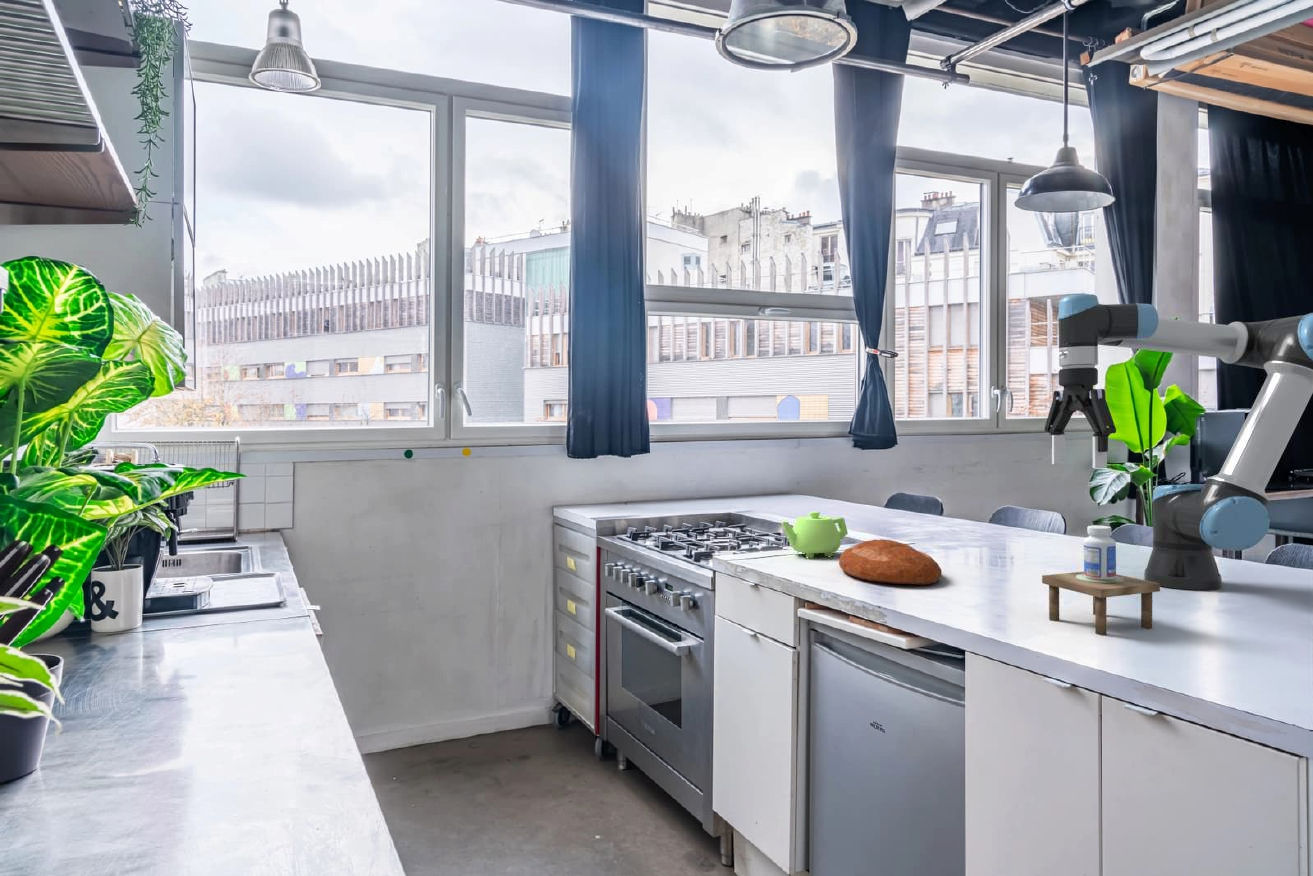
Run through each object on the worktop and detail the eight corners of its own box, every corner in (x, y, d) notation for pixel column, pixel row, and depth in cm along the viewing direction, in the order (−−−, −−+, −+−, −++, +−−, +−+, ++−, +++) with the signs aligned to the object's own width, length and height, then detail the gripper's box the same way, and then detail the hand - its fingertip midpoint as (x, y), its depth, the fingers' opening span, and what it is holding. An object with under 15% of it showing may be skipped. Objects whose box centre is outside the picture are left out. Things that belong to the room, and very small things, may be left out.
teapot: (790, 561, 228) (790, 516, 228) (773, 553, 241) (773, 510, 241) (857, 557, 232) (856, 513, 232) (836, 549, 245) (836, 508, 245)
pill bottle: (1110, 575, 158) (1110, 525, 158) (1120, 581, 153) (1120, 529, 153) (1079, 574, 159) (1080, 524, 159) (1088, 580, 154) (1089, 528, 154)
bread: (892, 562, 224) (891, 530, 224) (968, 585, 194) (967, 547, 194) (818, 568, 218) (817, 535, 218) (884, 592, 187) (884, 554, 187)
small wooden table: (1097, 612, 165) (1097, 568, 165) (1160, 628, 152) (1159, 581, 152) (1042, 618, 161) (1042, 574, 161) (1101, 636, 148) (1101, 588, 147)
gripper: (1027, 370, 188) (1028, 463, 189) (1101, 364, 163) (1102, 470, 164) (1057, 370, 189) (1058, 462, 190) (1135, 363, 164) (1135, 469, 165)
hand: (1078, 466), depth 177 cm, fingers open, 13 cm apart
